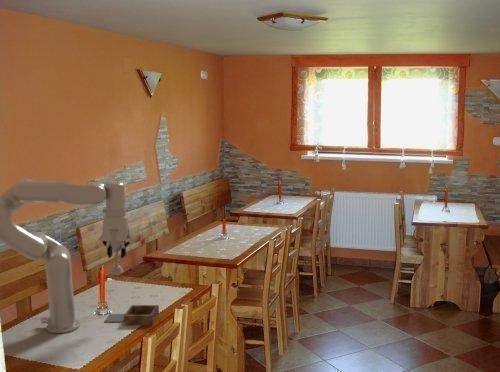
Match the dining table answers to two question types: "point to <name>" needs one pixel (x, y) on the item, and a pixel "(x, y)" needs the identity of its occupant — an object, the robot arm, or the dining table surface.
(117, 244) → the chalice
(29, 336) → the dining table surface
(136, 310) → the wooden tray
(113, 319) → the mat
